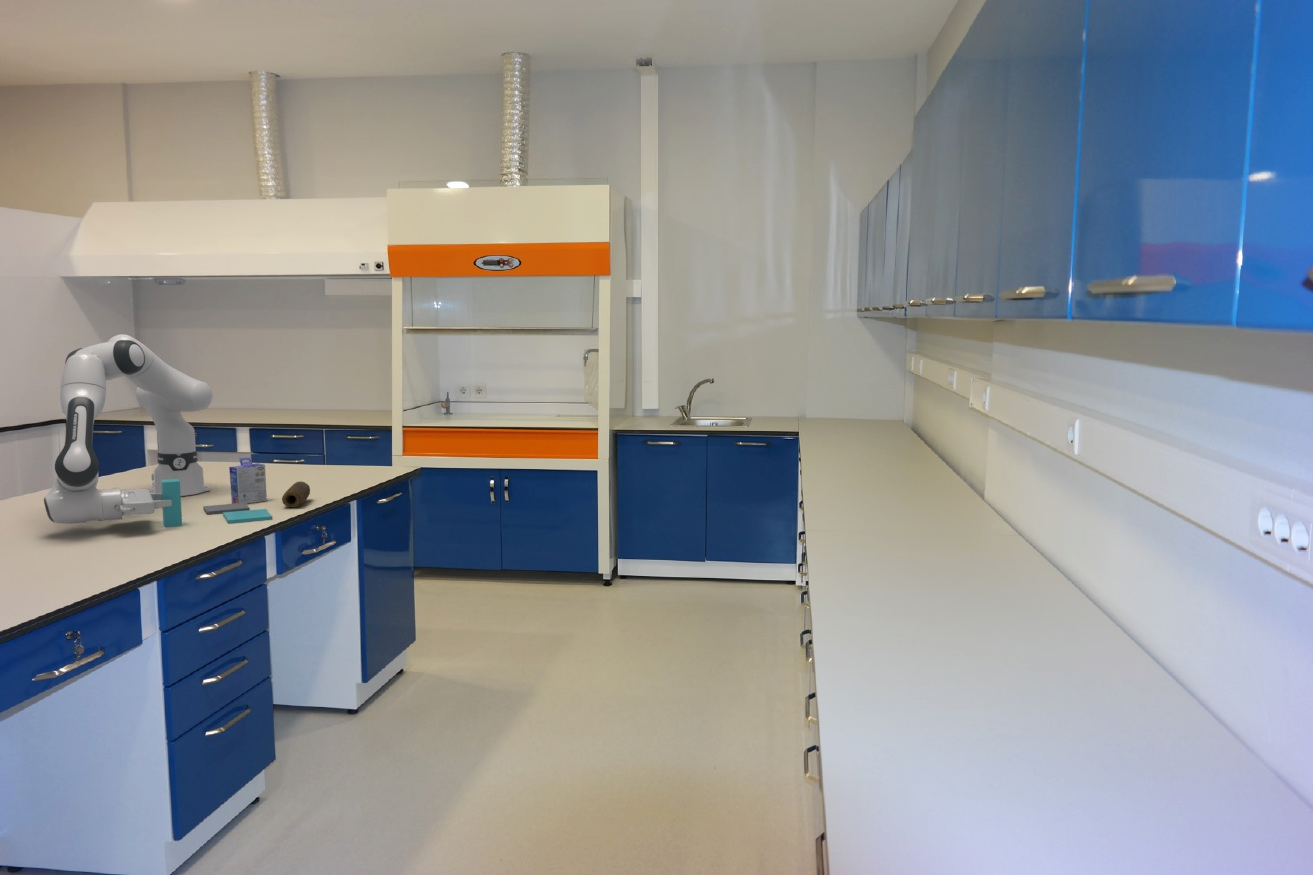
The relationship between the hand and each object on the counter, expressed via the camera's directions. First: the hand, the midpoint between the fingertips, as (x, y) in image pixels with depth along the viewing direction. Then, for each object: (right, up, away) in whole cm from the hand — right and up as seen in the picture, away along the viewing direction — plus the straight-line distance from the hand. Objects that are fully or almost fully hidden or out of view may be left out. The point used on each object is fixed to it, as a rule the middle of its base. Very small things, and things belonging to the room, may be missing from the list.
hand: (170, 499), depth 261 cm
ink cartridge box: (+7, -3, +34) cm, 35 cm away
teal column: (0, -7, +1) cm, 7 cm away
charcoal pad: (+6, -5, +21) cm, 23 cm away
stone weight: (+24, -4, +32) cm, 40 cm away
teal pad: (+17, -6, +12) cm, 22 cm away
